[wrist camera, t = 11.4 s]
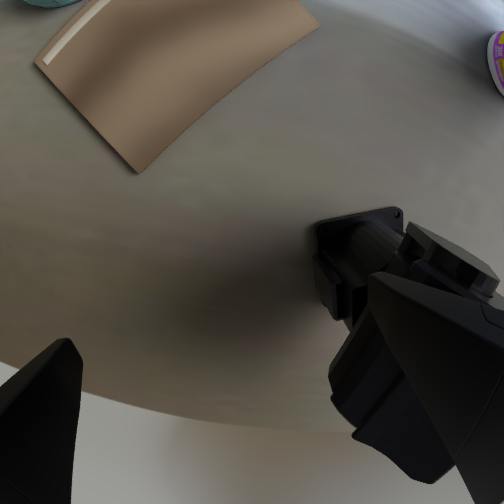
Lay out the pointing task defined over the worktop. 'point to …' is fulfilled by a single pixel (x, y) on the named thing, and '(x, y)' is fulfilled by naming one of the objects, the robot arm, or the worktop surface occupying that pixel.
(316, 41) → the worktop surface
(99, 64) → the board
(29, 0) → the bowl
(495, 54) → the supplement bottle
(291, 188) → the worktop surface
